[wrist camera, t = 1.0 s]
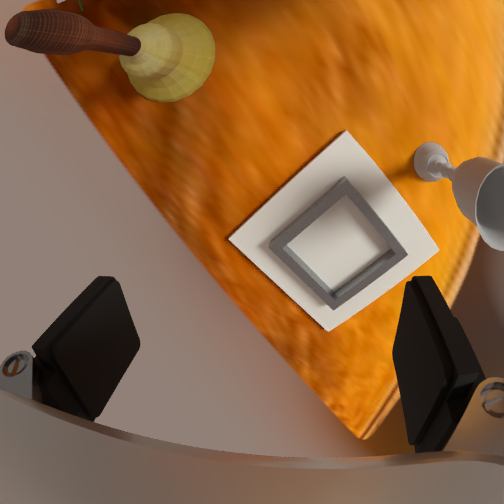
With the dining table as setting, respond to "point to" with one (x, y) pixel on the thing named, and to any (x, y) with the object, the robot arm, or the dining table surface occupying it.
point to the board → (335, 231)
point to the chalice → (469, 188)
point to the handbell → (127, 48)
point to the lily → (79, 3)
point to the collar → (314, 212)
